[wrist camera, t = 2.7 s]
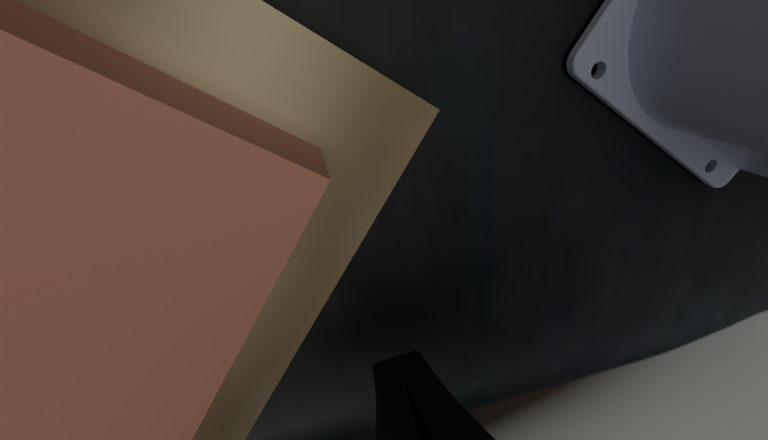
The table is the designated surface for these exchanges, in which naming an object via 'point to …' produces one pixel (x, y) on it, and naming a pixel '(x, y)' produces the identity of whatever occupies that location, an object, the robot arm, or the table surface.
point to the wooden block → (291, 114)
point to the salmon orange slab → (130, 236)
